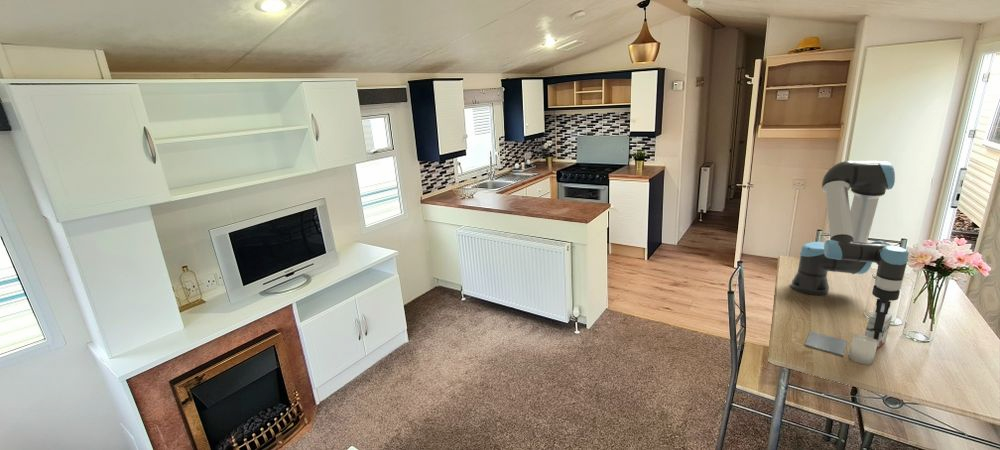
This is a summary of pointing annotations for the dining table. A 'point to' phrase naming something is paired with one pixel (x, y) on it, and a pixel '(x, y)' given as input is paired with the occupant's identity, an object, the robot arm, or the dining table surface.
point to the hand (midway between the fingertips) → (875, 339)
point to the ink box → (885, 327)
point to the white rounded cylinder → (863, 349)
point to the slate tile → (826, 343)
